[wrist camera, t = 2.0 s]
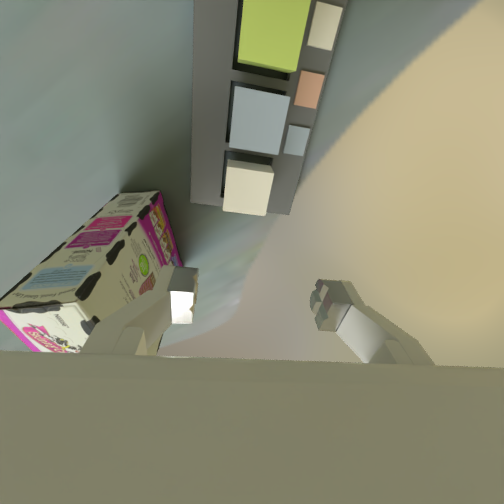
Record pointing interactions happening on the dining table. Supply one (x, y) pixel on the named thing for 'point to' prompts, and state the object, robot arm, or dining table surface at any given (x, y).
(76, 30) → the dining table surface
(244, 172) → the key ivory
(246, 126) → the key slate
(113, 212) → the candy bar box
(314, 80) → the keypad board
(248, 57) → the lime green cube
